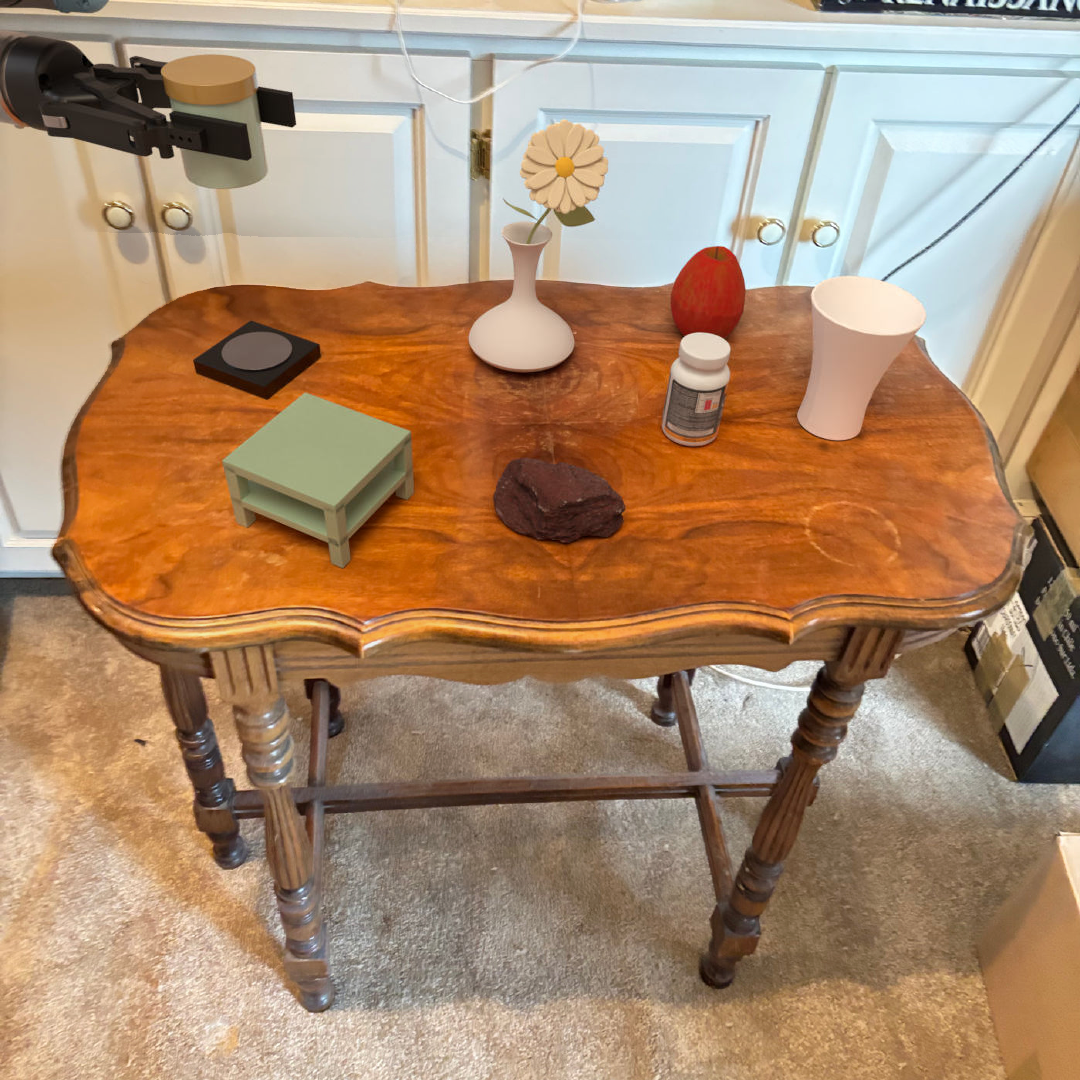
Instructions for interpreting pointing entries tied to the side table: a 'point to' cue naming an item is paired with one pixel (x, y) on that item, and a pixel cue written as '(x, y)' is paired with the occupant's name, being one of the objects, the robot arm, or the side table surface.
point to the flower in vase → (562, 185)
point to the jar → (218, 114)
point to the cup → (853, 349)
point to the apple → (709, 293)
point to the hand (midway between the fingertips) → (270, 125)
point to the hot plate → (257, 359)
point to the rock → (556, 501)
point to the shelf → (320, 471)
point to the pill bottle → (697, 390)
